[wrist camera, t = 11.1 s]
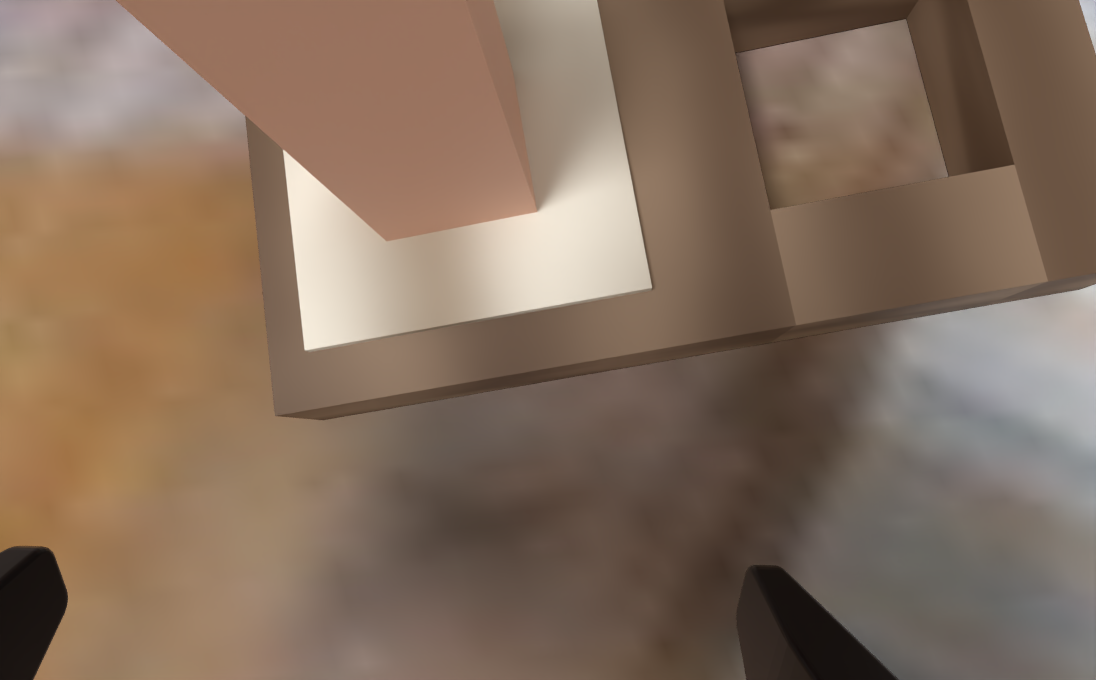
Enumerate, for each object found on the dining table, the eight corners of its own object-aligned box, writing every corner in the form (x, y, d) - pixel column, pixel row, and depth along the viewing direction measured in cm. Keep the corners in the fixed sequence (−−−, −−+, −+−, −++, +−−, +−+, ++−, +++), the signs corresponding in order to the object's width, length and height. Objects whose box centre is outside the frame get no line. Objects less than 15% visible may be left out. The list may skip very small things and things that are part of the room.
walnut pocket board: (969, -87, 22) (1030, -181, 18) (1079, 289, 20) (1170, 258, 16) (282, 57, 23) (228, -6, 20) (322, 420, 21) (269, 415, 18)
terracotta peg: (537, 212, 18) (387, -229, 6) (386, 241, 18) (-28, -127, 7) (512, 69, 19) (335, -571, 7) (367, 100, 19) (-41, -467, 7)
